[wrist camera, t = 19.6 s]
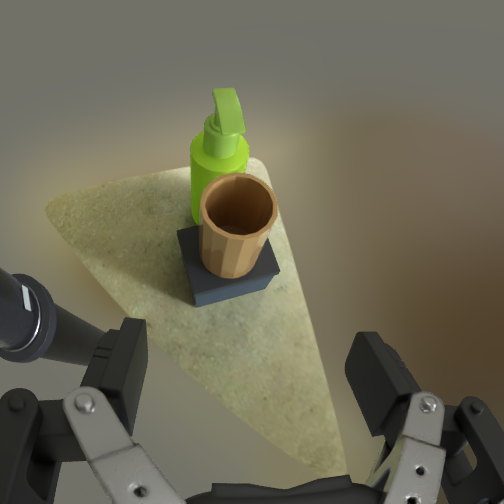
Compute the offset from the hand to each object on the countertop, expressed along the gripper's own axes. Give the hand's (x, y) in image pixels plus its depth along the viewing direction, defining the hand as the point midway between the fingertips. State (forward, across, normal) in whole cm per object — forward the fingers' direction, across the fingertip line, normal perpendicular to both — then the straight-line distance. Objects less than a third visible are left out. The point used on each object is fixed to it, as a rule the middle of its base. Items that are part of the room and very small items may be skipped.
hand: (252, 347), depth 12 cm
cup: (+22, 0, +5) cm, 22 cm away
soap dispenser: (+32, +2, +5) cm, 33 cm away
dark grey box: (+27, 0, +10) cm, 28 cm away
